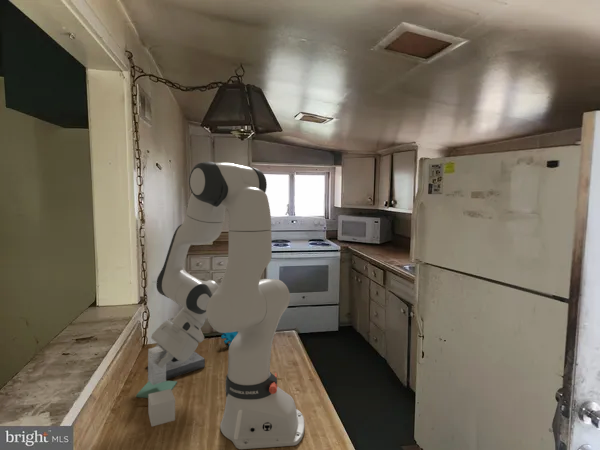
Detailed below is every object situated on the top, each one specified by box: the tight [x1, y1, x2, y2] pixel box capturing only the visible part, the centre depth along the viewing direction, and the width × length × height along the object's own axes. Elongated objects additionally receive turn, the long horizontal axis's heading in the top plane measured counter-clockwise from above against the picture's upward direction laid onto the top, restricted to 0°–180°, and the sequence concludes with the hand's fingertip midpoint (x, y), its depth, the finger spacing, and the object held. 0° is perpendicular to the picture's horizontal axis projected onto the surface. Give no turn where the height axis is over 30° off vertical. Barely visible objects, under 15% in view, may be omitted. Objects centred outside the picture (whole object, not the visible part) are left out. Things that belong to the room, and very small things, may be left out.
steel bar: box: [147, 346, 167, 385], centre depth 111 cm, size 4×4×10 cm
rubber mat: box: [135, 380, 178, 399], centre depth 111 cm, size 9×9×1 cm
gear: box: [220, 331, 239, 347], centre depth 148 cm, size 11×6×10 cm
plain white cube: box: [147, 389, 176, 427], centre depth 98 cm, size 6×6×6 cm
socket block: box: [166, 350, 206, 381], centre depth 127 cm, size 14×14×3 cm
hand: (155, 362), depth 110 cm, fingers closed on steel bar, 4 cm apart
